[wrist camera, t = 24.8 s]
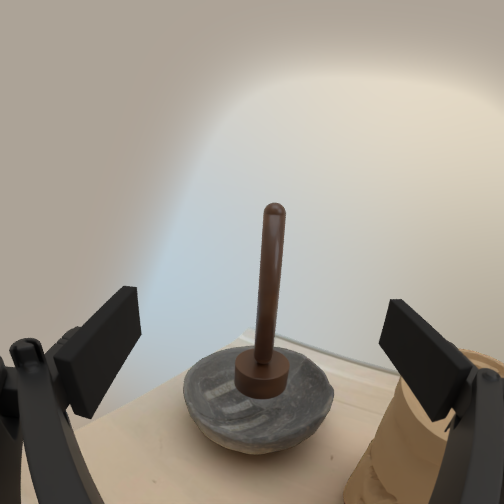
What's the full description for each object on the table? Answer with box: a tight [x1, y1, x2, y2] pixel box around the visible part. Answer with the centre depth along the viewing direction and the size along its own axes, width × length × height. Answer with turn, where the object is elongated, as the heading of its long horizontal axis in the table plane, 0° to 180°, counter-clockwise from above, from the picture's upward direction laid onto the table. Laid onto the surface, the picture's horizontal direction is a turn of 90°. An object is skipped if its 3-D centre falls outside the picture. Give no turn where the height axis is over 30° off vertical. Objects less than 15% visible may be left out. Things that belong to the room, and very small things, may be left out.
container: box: [343, 349, 504, 504], centre depth 16 cm, size 13×13×18 cm
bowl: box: [183, 346, 334, 454], centre depth 32 cm, size 18×18×8 cm
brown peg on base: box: [234, 203, 290, 399], centre depth 28 cm, size 6×6×20 cm
